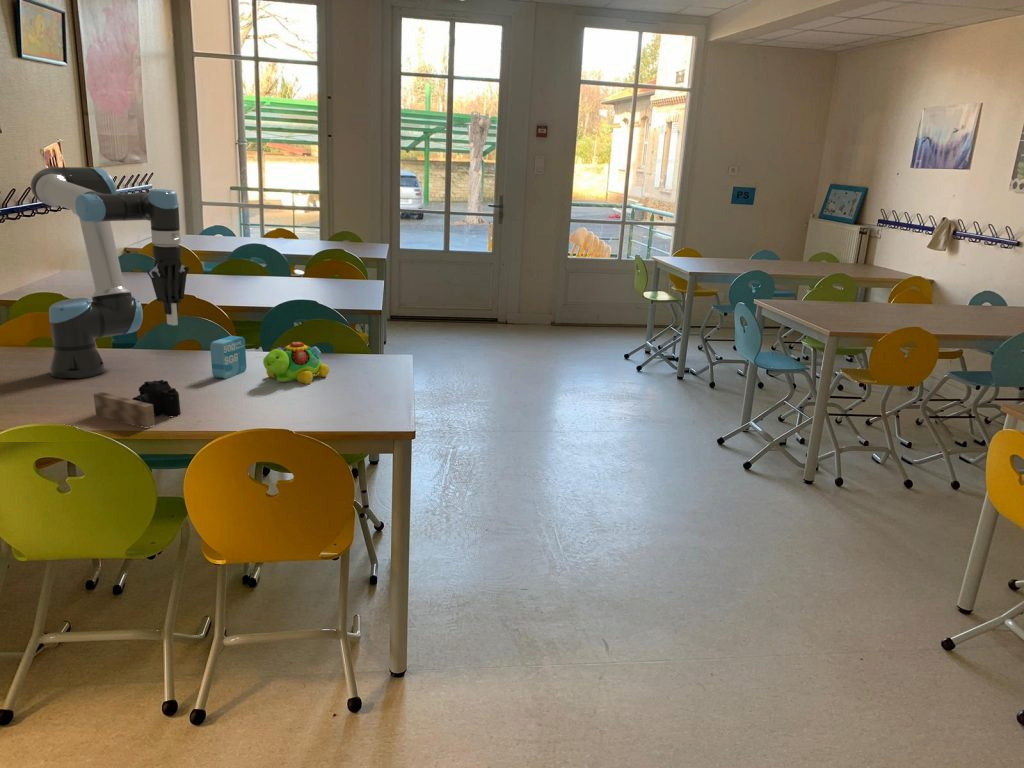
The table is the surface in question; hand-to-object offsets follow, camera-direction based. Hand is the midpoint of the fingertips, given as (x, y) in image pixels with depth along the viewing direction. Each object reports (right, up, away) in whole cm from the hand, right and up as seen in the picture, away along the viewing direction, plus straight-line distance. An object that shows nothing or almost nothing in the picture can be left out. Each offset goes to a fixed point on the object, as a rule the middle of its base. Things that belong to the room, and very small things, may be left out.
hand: (172, 324), depth 222 cm
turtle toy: (+30, -16, +22) cm, 40 cm away
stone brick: (-3, -28, -21) cm, 35 cm away
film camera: (+2, -26, -15) cm, 30 cm away
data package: (+8, -15, +24) cm, 29 cm away
